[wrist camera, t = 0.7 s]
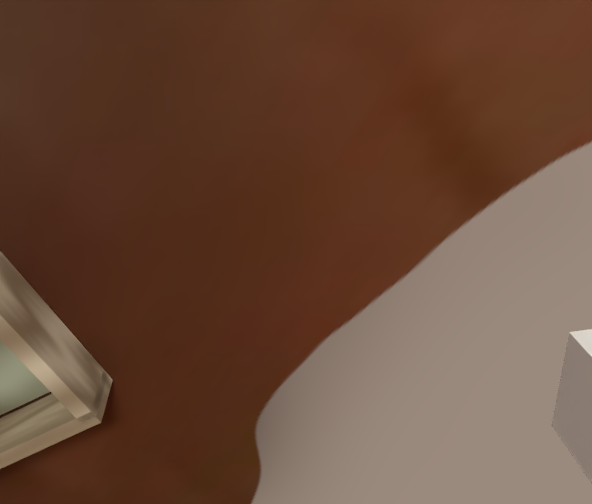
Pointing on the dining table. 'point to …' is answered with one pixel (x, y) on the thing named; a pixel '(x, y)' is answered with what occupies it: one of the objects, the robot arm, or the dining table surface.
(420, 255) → the dining table surface
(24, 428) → the tray
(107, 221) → the dining table surface
